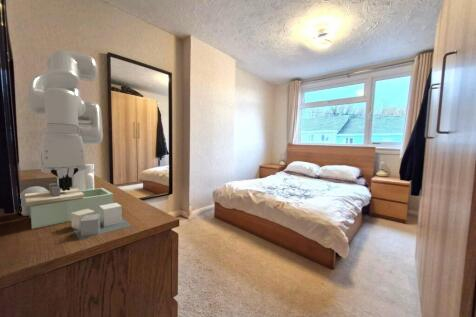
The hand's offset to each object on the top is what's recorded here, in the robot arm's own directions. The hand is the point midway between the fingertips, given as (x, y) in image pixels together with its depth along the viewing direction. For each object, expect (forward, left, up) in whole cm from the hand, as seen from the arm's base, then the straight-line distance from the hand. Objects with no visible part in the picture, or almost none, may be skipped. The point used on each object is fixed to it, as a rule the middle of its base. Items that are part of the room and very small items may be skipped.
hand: (65, 189), depth 64 cm
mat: (+16, +5, -9) cm, 19 cm away
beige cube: (+13, +2, -8) cm, 16 cm away
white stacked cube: (+16, +8, -8) cm, 19 cm away
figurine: (-13, +9, -9) cm, 18 cm away
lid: (0, -3, -2) cm, 3 cm away
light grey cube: (+19, +2, -8) cm, 21 cm away
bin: (0, +2, -9) cm, 9 cm away
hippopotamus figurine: (-11, -4, -9) cm, 15 cm away
